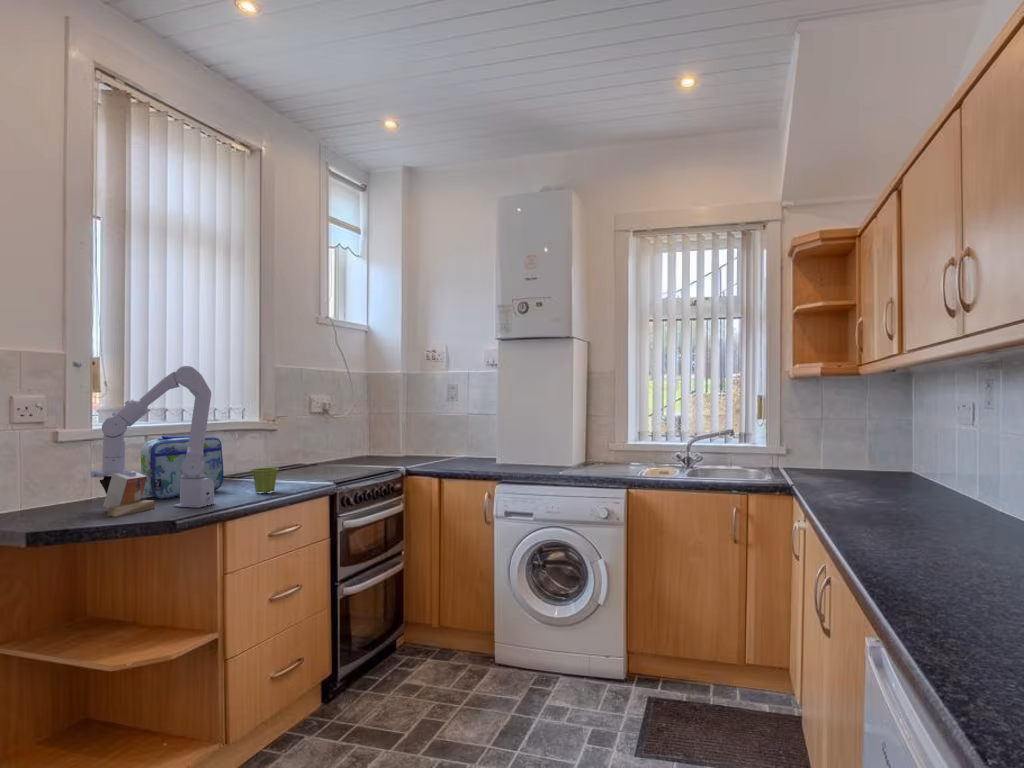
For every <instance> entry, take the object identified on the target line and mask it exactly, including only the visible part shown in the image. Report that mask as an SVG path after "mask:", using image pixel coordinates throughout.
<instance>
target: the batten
mask: <svg viewBox="0 0 1024 768" xmlns="http://www.w3.org/2000/svg"><path fill="white" fill-rule="evenodd" d="M153 508H154V509H155V500H151V499H148V500H147V499H145V500H140V501H139V502H134V503H129V504H124V505H119V506H114V507H109V508H107V517H109V516H112V517H113V518H117V516H118V517H122V515H123V516H126V515H127V514H128V515H132V514H135V513H136V512H137V513H141V512H145V510H146V511H149V509H151V510H154V509H153ZM140 511H141V512H140ZM131 513H132V514H131Z"/></svg>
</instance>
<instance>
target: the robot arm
mask: <svg viewBox="0 0 1024 768" xmlns="http://www.w3.org/2000/svg"><path fill="white" fill-rule="evenodd" d="M180 385H181V386H182V387H184V388H186V389H188V391H189V392H190V393H191V394H192V395H193V396H194V403H193V411H192V417H191V425H190V431H189V435H188V436H189V443H188V449H187V454H186V458H185V460H184V461H183V463H182V465H181V470H182V473H183V474H184V475H182V476H180V496H179V503H176V504H173V505H172V507H177V508H179V507H181V508H203V507H207V505H208V506H210V505H211V504H212V505H215V503H216V501H215V490H214V482H213V480H212V479H210V478H206V477H205V476H206V474H204V473H203V472H202V471H203V469H204V466H205V462H204V460H203V449H204V442H205V437H206V434H207V427H208V420H209V412H210V406H211V400H212V399H211V398H212V391H211V389H210V387H209V385H208V383H207V381H206V380H205V378H204V376H203V375H202V374H201V373H200V372H199V371H198V370H197V369H196V368H194V367H193V366H192V365H191V366H190V365H183V366H180V367H179V368H177V370H175V371H173V372H171V373H169V374H168V375H167V376H165V377H164V378H162V379H161V380H160V381H159V382H158V383H156V384H155V385H154V386H153V387H152V388H151V389H150V390H149V391H148V392H146V393H144V395H143V396H142V397H141V398H133V399H131V400H126V401H125V402H124V405H123V406H122V407H121V408H120V409H119V410H117V411H116V412H114V411H113V412H112V413H111V417H107V418H106V419H105V420H104V421H103V423H102V425H101V430H102V433H103V438H102V439H103V441H102V462H101V463H102V464H101V465H102V470H96V469H95V470H91V471H90V478H102V479H99V484H101V486H102V488H103V489H104V492H105V494H106V495H107V491H108V488H109V484H110V481H111V477H112V474H114V473H120V474H125V475H128V476H136V472H137V471H135V472H131V470H130V471H129V470H125V463H126V461H125V458H126V457H125V455H126V454H125V453H126V452H125V450H126V442H125V434H126V431H127V430H128V427H131V426H133V425H134V424H136V423H137V422H138V421H139V420H140V419H141V418H143V417H144V416H145V415H146V414H147V413H148V412H149V411H148V407H149V406H150V405H151V404H153V403H154V402H155V401H156V400H157V399H159V398H161V396H163V395H164V394H165V393H167V392H168V391H170V390H173V389H177V388H180V387H181V386H180ZM106 495H105V496H106ZM212 505H211V506H212Z"/></svg>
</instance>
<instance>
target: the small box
mask: <svg viewBox="0 0 1024 768" xmlns="http://www.w3.org/2000/svg"><path fill="white" fill-rule="evenodd" d="M130 472H136V476H128V475H125V474H120V473H114V474H112V475H111V476H112V477H111V481H110V484H109V488H108V491H107V495H105V498H104V503H103V504H102V505H103V508H106V509H108V508H109V507H114V506H119V505H124V504H129V503H134V502H139V501H142V500H141V499H142V496H143V494H144V493H143V490H144V486H145V483H146V479H147V476H145V475H142V474H141V472H137V471H135V470H130Z"/></svg>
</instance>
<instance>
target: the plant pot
mask: <svg viewBox="0 0 1024 768" xmlns="http://www.w3.org/2000/svg"><path fill="white" fill-rule="evenodd" d="M279 470H280V468H278V467H257V468H251V470H250V471H251V472H252V476H253V481H254V482H253V484H254V488H255V489H254V490H255V491H254V492H255V493H256V492H270V491H274V492H275V488H276V487H275V486H276V481H277V475H278V472H279Z"/></svg>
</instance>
